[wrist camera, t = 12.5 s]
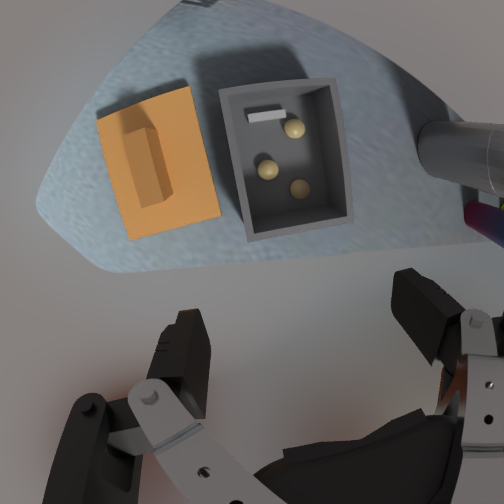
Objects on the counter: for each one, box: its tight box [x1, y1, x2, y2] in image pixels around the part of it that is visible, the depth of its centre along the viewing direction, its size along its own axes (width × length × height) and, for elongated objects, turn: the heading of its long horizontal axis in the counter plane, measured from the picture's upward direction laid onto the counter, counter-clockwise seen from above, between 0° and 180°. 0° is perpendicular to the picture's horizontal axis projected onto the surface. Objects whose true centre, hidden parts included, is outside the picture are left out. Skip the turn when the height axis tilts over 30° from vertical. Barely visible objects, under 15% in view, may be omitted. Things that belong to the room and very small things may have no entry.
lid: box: [96, 86, 222, 241], centre depth 28 cm, size 12×16×7 cm
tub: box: [218, 78, 354, 242], centre depth 29 cm, size 12×16×7 cm
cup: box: [464, 201, 504, 248], centre depth 30 cm, size 7×7×15 cm
